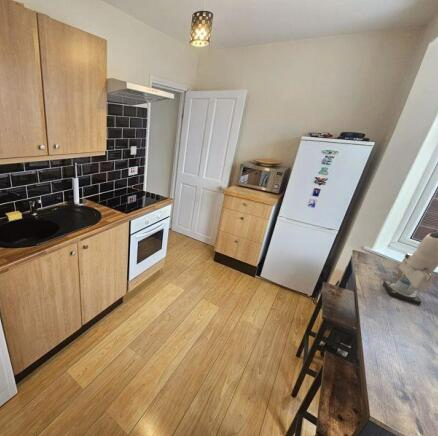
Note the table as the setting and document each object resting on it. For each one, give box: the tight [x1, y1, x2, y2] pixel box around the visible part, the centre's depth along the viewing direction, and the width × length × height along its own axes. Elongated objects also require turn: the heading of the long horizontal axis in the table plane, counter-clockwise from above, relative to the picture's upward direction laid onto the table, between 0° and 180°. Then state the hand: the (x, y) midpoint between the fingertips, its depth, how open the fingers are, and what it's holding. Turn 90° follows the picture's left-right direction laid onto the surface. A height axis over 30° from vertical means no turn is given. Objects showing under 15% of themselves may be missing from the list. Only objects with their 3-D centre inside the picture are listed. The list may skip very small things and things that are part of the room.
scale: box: [382, 280, 423, 306], centre depth 118 cm, size 11×11×3 cm
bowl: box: [394, 278, 417, 294], centre depth 116 cm, size 7×7×4 cm
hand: (405, 286), depth 116 cm, fingers closed on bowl, 7 cm apart
